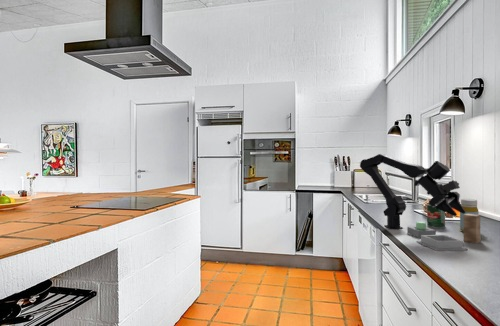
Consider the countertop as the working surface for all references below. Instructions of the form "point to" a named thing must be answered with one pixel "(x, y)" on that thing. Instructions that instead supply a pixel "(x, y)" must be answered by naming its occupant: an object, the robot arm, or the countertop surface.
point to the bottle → (468, 209)
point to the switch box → (420, 231)
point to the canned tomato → (435, 217)
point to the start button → (421, 225)
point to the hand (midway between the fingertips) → (460, 214)
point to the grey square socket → (441, 242)
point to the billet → (471, 228)
